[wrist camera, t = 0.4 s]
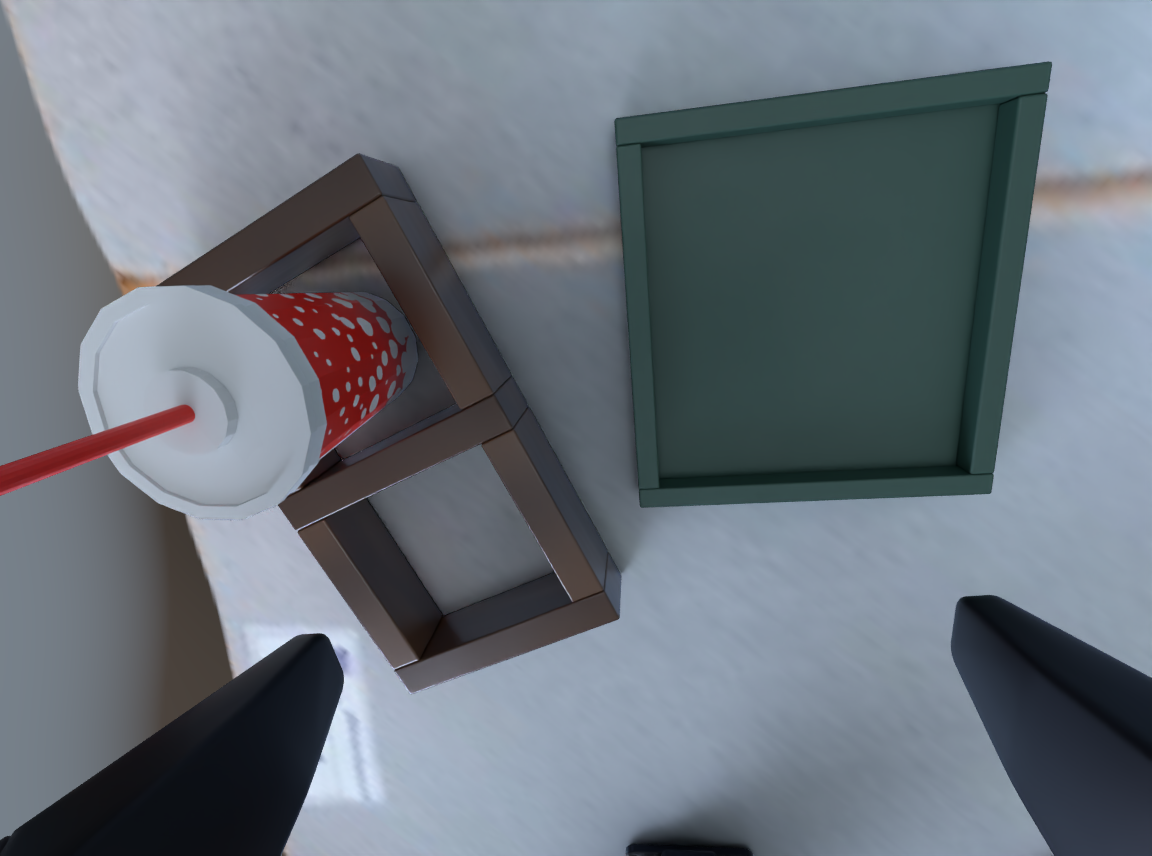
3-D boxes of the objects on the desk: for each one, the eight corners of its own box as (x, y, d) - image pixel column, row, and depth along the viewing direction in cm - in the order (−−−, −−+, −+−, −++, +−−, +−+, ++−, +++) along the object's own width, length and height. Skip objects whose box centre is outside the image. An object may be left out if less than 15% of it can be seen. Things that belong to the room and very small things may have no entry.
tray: (968, 478, 21) (991, 494, 20) (639, 492, 23) (639, 508, 21) (1019, 75, 17) (1054, 60, 16) (615, 127, 19) (614, 117, 17)
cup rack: (622, 576, 24) (620, 619, 21) (434, 647, 26) (409, 695, 24) (398, 165, 20) (358, 151, 17) (197, 293, 22) (132, 299, 19)
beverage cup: (367, 237, 21) (-109, 214, 8) (467, 368, 22) (208, 549, 9) (260, 330, 22) (-286, 447, 9) (359, 448, 24) (2, 703, 10)
